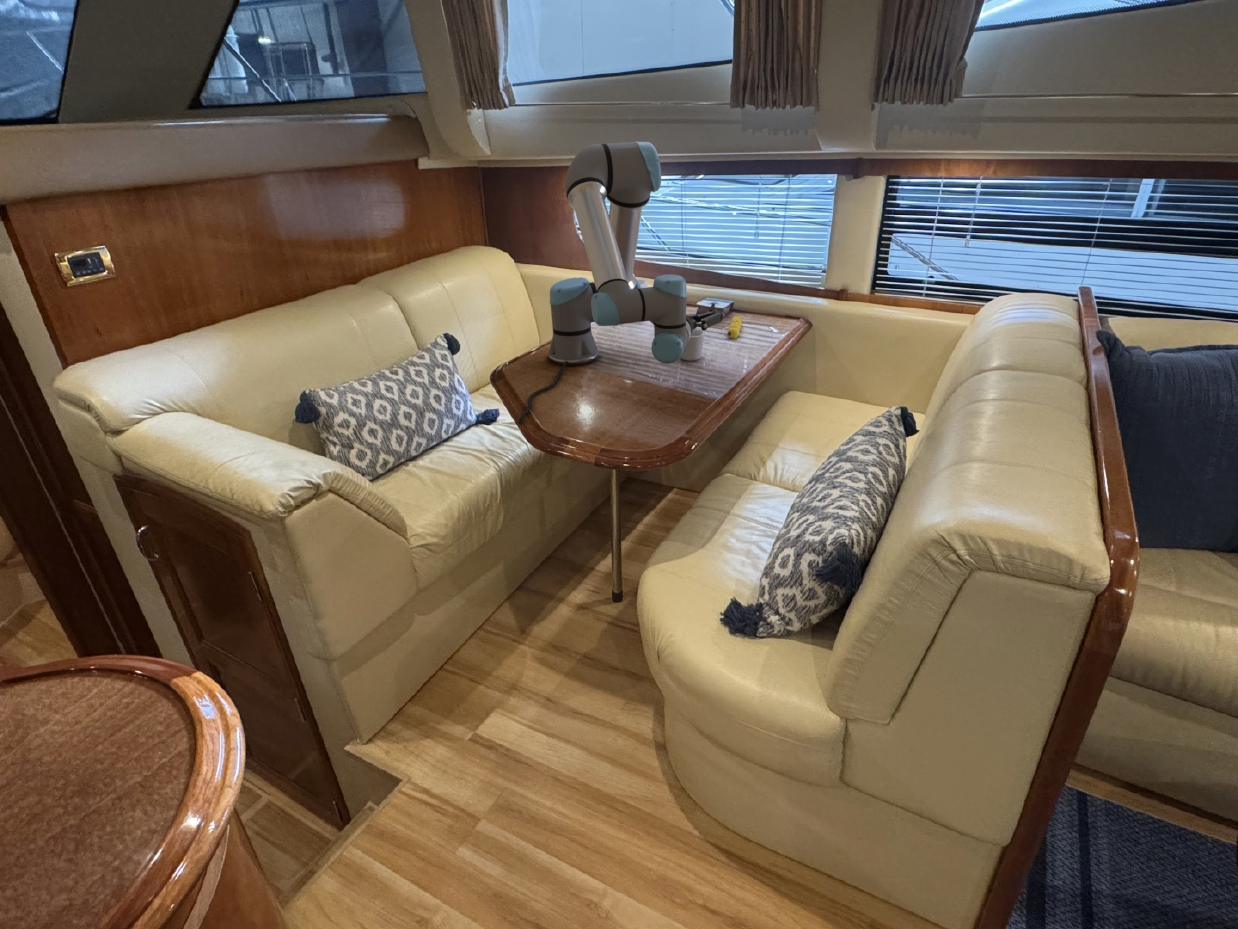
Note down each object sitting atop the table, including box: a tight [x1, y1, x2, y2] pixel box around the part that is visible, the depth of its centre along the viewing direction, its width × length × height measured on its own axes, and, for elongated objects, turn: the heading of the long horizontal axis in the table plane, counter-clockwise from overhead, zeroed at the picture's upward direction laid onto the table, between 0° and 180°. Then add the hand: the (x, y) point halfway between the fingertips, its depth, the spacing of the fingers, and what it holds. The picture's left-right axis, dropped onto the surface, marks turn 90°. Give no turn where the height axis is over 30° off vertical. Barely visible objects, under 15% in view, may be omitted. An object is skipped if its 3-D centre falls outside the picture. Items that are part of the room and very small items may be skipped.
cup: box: [680, 328, 705, 362], centre depth 200 cm, size 11×8×8 cm
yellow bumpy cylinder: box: [726, 315, 743, 339], centre depth 221 cm, size 17×4×4 cm, turn 166°
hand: (688, 307), depth 185 cm, fingers open, 13 cm apart
